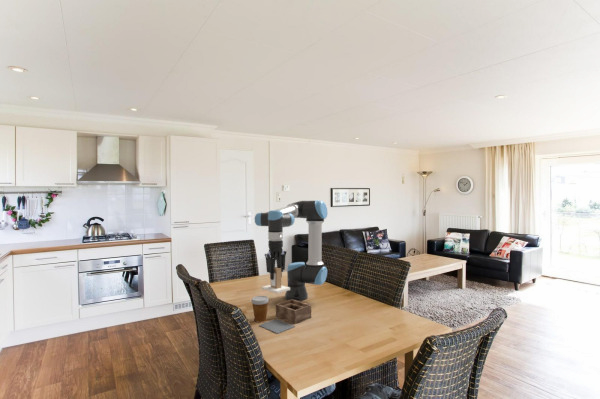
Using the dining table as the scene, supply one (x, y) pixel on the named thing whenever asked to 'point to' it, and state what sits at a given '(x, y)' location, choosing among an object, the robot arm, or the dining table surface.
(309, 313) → the wooden box
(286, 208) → the robot arm
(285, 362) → the dining table surface
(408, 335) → the dining table surface
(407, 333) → the dining table surface
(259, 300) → the disposable coffee cup
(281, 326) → the rubber mat
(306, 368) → the dining table surface
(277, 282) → the cover plate
